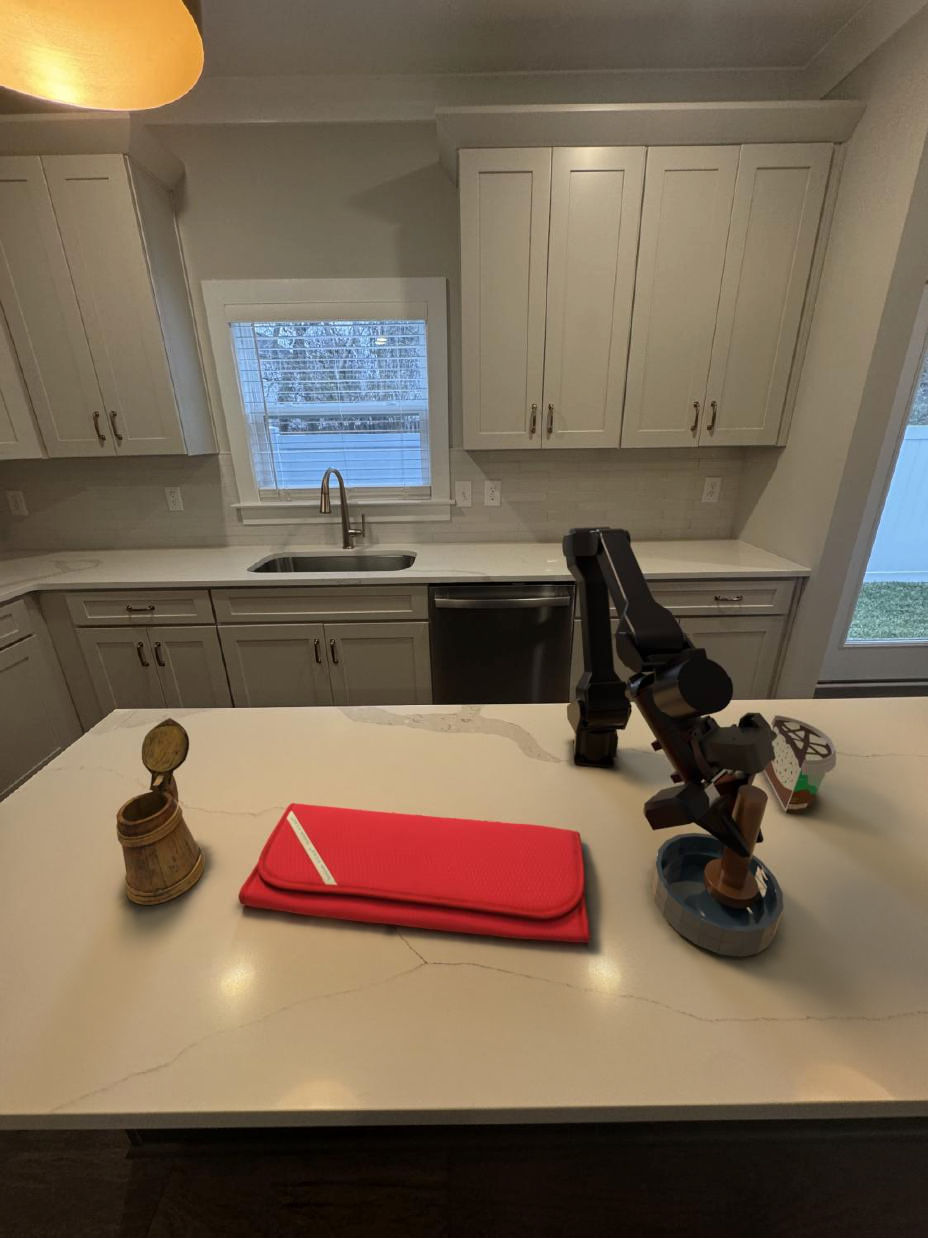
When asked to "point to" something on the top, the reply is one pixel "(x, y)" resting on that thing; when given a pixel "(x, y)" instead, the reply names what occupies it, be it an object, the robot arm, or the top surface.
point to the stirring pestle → (732, 871)
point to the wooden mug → (159, 825)
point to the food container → (798, 762)
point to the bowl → (700, 911)
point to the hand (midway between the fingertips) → (753, 849)
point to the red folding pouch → (424, 873)
